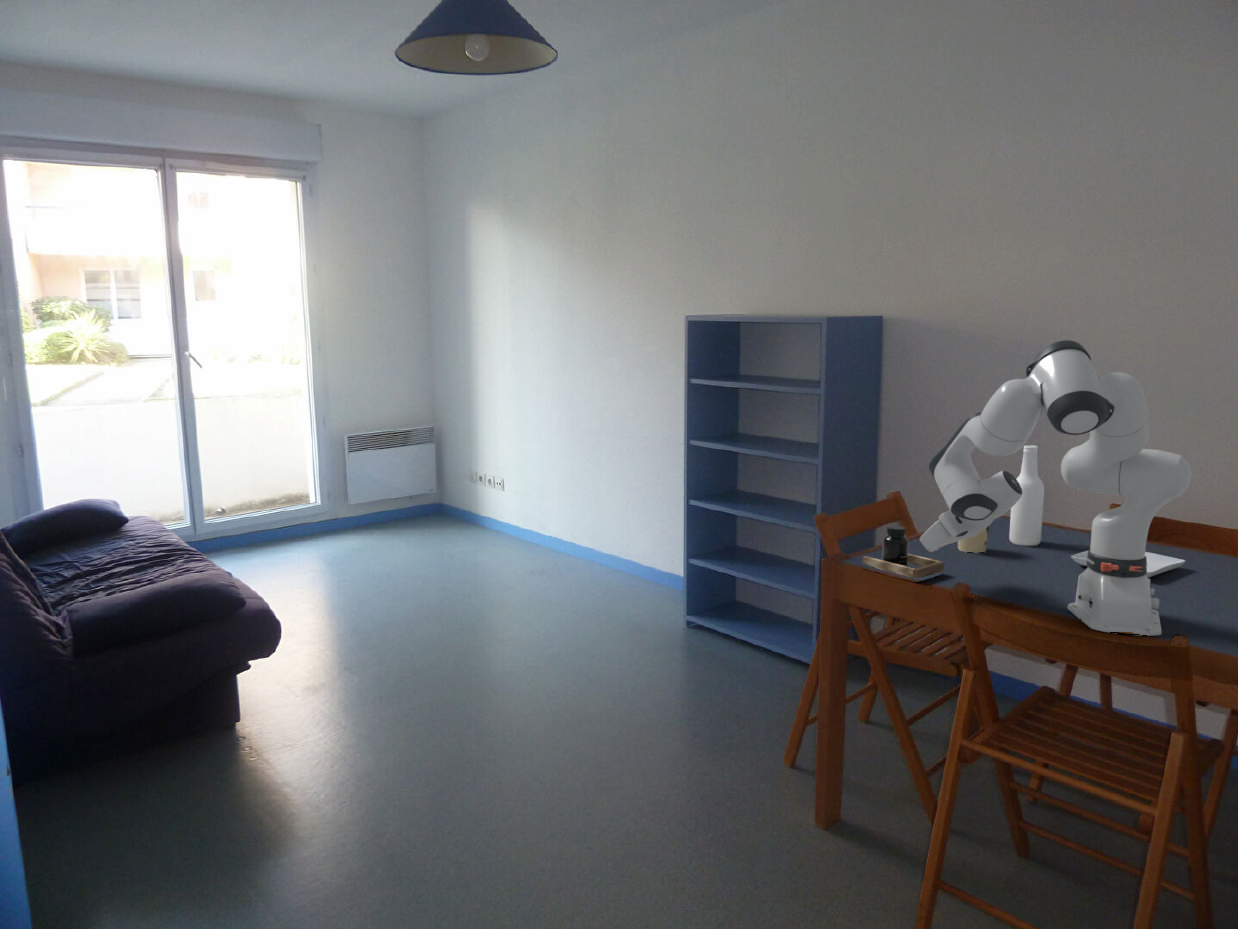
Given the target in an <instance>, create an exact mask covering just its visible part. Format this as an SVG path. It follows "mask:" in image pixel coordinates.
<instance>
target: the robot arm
mask: <svg viewBox="0 0 1238 929" xmlns="http://www.w3.org/2000/svg"><path fill="white" fill-rule="evenodd" d="M1025 376H1026V378H1015V379H1010V380H1007V381H1005V382H1004V383H1003V384H1002V385H1001V386H999V388H998V389H997V390H996V391H995V392H994V394H993V395H991V397H990V398H989V400H988V401H987V402H986V404H985V406H984V408H983V409H982V411H980V412H977V413H974V414H972V415H970V416H969V417H967V418H966V419H965V420H964V421H963V422H962V423H961V425H960V426H959V427H958V429H957V430H956V431H955V433H954V434H953V435H952V437H951V438H950V439H949V441H948V442H947V443H946V444H945V446H944V447H943V448H942V449H940V450H939V451H938V452H937V453H935V454H934V456H933V457H932V458H931V461H930V462H929V465H928V471H929V473H930V475H931V476H932V478H933V480H934V481H935V483H936V484H937V487H938V489H939V491H940V493H941V495H942V497H943V499H944V501H945V503H946V505H947V507H948V508H949V510H947V511H944V512H943V513H941V514H940V515H939V516H938V520H936V521H935V522H934V523H933V524H932V525H931V526H930V527H928V528H927V529H926V531H925V532H924V533H923V534H921V536H920V537H919V541H920V543H921V544H922V546H923V547H924V548H925V550H927V551H928V552H930V553H932V552H935V551H936V552H937V551H938V550H940V549H941V548H942V547H945V546H946V545H950V544H954V543H958V541H961V540H964V539H967V538H969V537H975V536H977V535H978V534H979V533H980V532H982V531H983V530H984V529H985V528H987V527H988V526H989V527H990V525H992V523H993V521H994V520H996V519H998V518H1000V517H1002V516H1003V515H1005V514H1006V513H1007V512H1008V511H1010V510H1011V508H1012V507H1013V506H1014V505H1015V504H1016V503H1017V502H1018V500H1019V499H1020V498H1021V496H1022V489H1021V487H1020V485H1019V483H1018V481H1017V480H1016V479H1017V478H1016V477H1015V476H1014V475H1013V474H1012V473H1010V472H1009V471H1007V470H1001V471H999V472H996V473H995V474H993V475H992V476H991V477H989V478H981V477H980V475H979V473H978V470H977V468H976V467H975V465H974V463H973V460H972V452H973V451H974V449H975V448H977V449H978V450H979V451H981V452H983V453H984V454H986V455H990V456H994V457H1007V456H1011V455H1014V454H1015V453H1017V452H1019V451H1020V450H1021V449H1022V448H1024V446H1025V444H1026V443H1027V442H1028V439H1029V438H1030V437H1031V434H1032V433H1033V431H1034V429H1035V427H1036V425H1037V423H1038V422H1039V421H1040V420H1041V419H1042V418H1044V417H1045V416H1047V418H1048V421H1049V422H1050V424H1051V425H1052V426H1053V428H1054V429H1055V430H1056V431H1057V432H1058V433H1062V434H1064V435H1065V434H1066V435H1072V436H1079V435H1084V434H1088V433H1089V439H1087V441H1085V442H1084V443H1082V444H1080V445H1077V446H1073V447H1072V448H1070V449H1069V450H1068V451H1067V452H1066V453H1065V454H1064V456H1063V458H1062V460H1061V463H1060V472H1061V473H1060V474H1061V477H1062V479H1063V481H1064V482H1065V484H1066V485H1067V486H1068V487H1069V488H1072V489H1076V490H1080V491H1082V492H1088V493H1090V494H1091V493H1094V494H1103V495H1114V496H1121V497H1124V503H1123V504H1122V505H1120V506H1118V507H1114V508H1110V509H1108V510H1105V511H1102V512H1100V513H1098V514H1097V515H1096V516H1095V517H1094V518H1093V520H1092V523H1091V531H1090V532H1091V535H1090V546H1089V550H1087V551H1088V555H1087V566H1088V567H1087V566H1086V567H1087V568H1085V570H1084V571H1083V572H1081V573H1080V574H1079V575H1078V579H1077V585H1076V586H1077V587H1076V594H1075V601H1074V602H1070V603H1068V604H1067V607H1066V608H1067V610H1068V611H1070V612H1071V613H1072V614H1073V615H1074V616H1075V617H1077V618H1078V620H1080V619H1081V622H1083V623H1084V624H1085V625H1086V626H1088V627H1089V628H1090V629H1092V630H1095V631H1100V632H1104V633H1110V632H1132V633H1134V634H1140V635H1139V636H1142V635H1147V637H1148V636H1161V635H1162V626H1161V621H1160V620H1161V619H1160V614H1159V611H1158V610H1159V609H1160V598H1156V597H1152V596H1155V590H1156V589H1155V588H1151V578H1150V577H1149V578H1148V577H1147V576H1146V574H1147V557H1146V556H1145V552H1146V547H1147V541H1148V540H1147V539H1148V534H1149V529H1150V526H1151V524H1152V521H1153V518H1154V517H1155V516H1156V514H1157V513H1158V512H1159V510H1161V509H1162V508H1163V507H1164V506H1165V505H1166V504H1168V503H1169V502H1171V501H1173V500H1174V499H1176V498H1179V497H1181V496H1182V494H1184V493H1185V492H1186V491H1187V489H1188V488H1189V486H1190V484H1191V482H1192V481H1191V480H1192V476H1193V474H1192V469H1191V466H1190V463H1189V462H1188V460H1187V459H1186V458H1185V457H1184V456H1183V455H1181V454H1177V453H1174V452H1170V451H1165V450H1162V449H1161V450H1160V449H1153V448H1152V449H1149V448H1145V447H1146V446H1147V444H1148V443H1149V440H1150V422H1149V421H1150V420H1149V409H1148V403H1147V399H1146V396H1145V392H1144V390H1143V388H1142V385H1141V384H1140V381H1139V380H1138V379H1137V378H1135V377H1134V376H1132V375H1131V374H1129V373H1125V372H1122V371H1121V372H1116V371H1115V372H1110V373H1106V374H1103V375H1102V376H1100V375H1098V373H1097V372H1096V369H1095V367H1094V364H1093V362H1092V360H1091V356H1090V354H1089V352H1088V351H1087V350H1086V348H1085V347H1084V346H1083V345H1081V343H1079V342H1077V341H1074V340H1069V339H1067V340H1060V341H1056V342H1053V343H1050V344H1049V345H1048V346H1046V347H1044V348H1043V349H1042V350H1041V351H1039V353H1037V355H1036V356H1035V358H1034V359H1033V361H1032V362H1030V363H1028V365H1027V367H1026V369H1025ZM1156 609H1157V610H1156Z"/></svg>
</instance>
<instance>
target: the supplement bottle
mask: <svg viewBox="0 0 1238 929" xmlns="http://www.w3.org/2000/svg"><path fill="white" fill-rule="evenodd" d="M909 543H910V542H909V539H908V538H907V537H906V527H905V526H900V525H889V526H887V527H886V535H885V536H884V537H883V538H882V547H881V548H882V550H881V551H882V552H881V554H882V555H881V560H883V561H887V562H891V563H895V564H899V565H903V566H907V564H908V554H909V545H910V544H909Z"/></svg>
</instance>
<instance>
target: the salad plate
mask: <svg viewBox="0 0 1238 929" xmlns="http://www.w3.org/2000/svg"><path fill="white" fill-rule="evenodd" d="M1088 551H1089V550H1086V551H1082V552H1079V553H1076V554H1073V555H1071V556H1070V557H1071V559H1072V560H1073V561H1075V563H1078V564H1079V565H1082V566H1085V567H1088V566H1087V555H1088ZM1145 556H1146V557H1147V574H1146V576H1147V577H1149V578H1151V577H1154V576H1158V575H1160V574H1162V573H1166V572H1168V571H1171V570H1172V571H1173V570H1174V569H1178V568H1179V567H1181V566H1183V564H1185V562H1186V560H1185V559H1182V558H1181V559H1180V558H1177V557H1173V556H1167V555H1163V554H1158V553H1153V552H1149V551H1145Z"/></svg>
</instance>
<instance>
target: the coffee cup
mask: <svg viewBox="0 0 1238 929" xmlns="http://www.w3.org/2000/svg"><path fill="white" fill-rule="evenodd" d="M989 529H990V525H989V526H988V527H987V528H985V529H984V530H983V531H982V532H980V533H979V534H978V535H977V536H975V537H969V538H967V539H964V540H961V541H957V548H958V549H959V550H958V551H960V552H962V551H963V553H967V552H973V553H972V554H980V553H979V552H984V553H986V550H987V545H988V538H989Z"/></svg>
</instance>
